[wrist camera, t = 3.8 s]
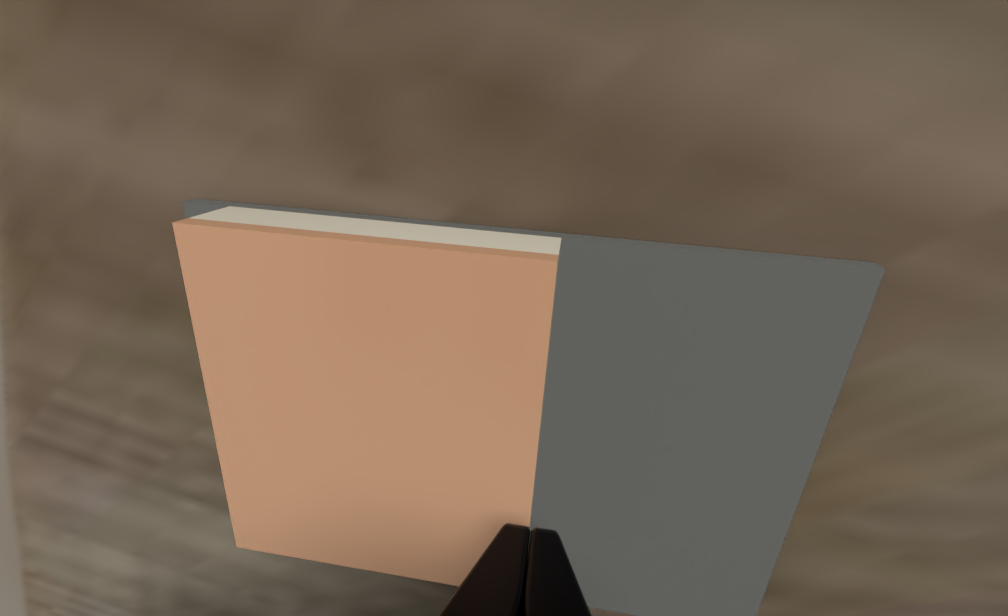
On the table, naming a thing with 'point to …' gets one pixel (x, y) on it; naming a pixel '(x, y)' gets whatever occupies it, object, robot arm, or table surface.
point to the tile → (371, 382)
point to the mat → (680, 410)
